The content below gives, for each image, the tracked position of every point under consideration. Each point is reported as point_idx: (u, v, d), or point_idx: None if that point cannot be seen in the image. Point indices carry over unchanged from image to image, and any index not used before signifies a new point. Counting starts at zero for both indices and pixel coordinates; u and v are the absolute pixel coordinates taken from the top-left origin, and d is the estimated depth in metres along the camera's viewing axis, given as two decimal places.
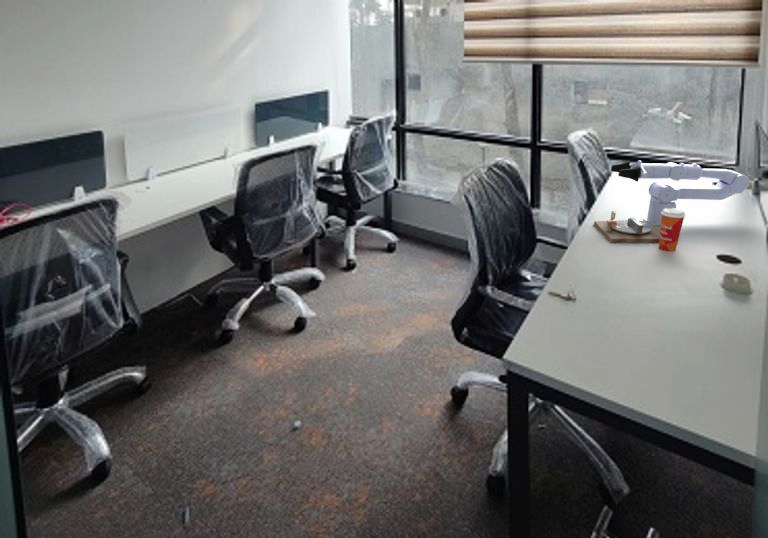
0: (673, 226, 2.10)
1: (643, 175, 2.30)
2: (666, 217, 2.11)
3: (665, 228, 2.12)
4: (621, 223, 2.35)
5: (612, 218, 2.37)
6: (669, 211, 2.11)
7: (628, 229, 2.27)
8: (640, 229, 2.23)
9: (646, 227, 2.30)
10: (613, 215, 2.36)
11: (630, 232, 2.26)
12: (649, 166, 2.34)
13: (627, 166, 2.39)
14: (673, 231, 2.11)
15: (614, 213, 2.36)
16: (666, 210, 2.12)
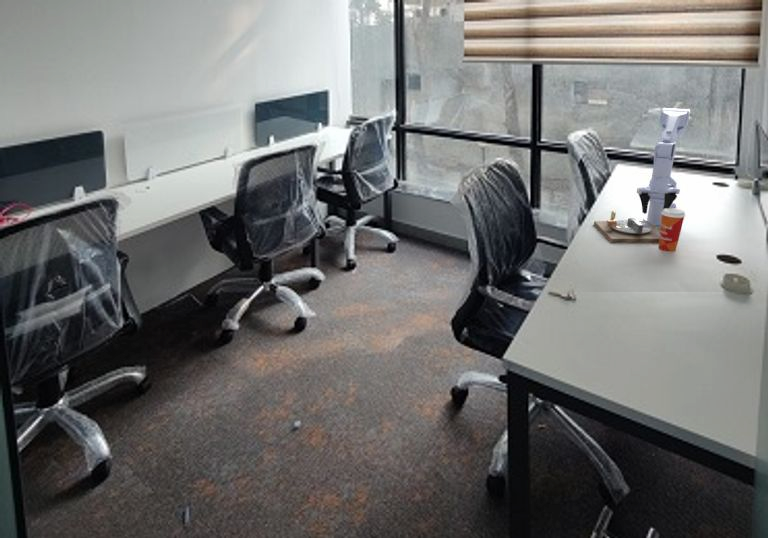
0: (673, 226, 2.10)
1: None
2: (666, 217, 2.11)
3: (665, 228, 2.12)
4: (621, 223, 2.35)
5: (612, 218, 2.37)
6: (669, 211, 2.11)
7: (628, 229, 2.27)
8: (640, 229, 2.23)
9: (646, 227, 2.30)
10: (613, 215, 2.36)
11: (630, 232, 2.26)
12: (667, 181, 2.18)
13: None
14: (673, 231, 2.11)
15: (614, 213, 2.36)
16: (666, 210, 2.12)
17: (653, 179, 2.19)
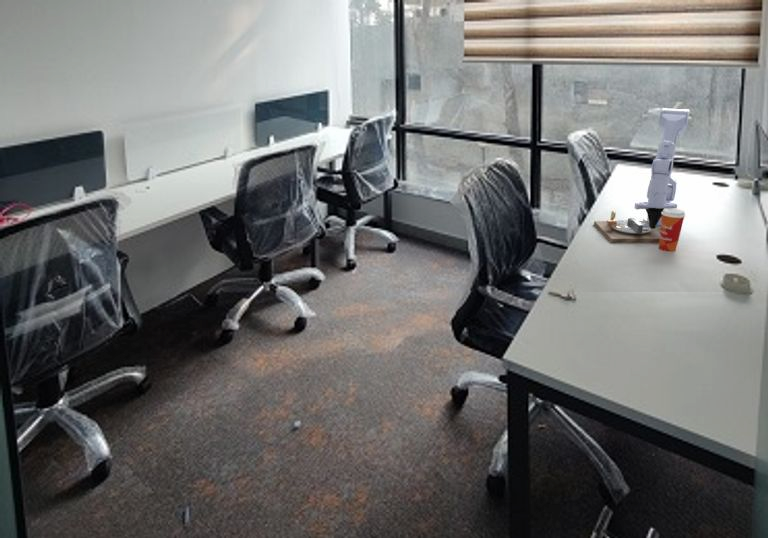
0: (673, 226, 2.10)
1: None
2: (666, 217, 2.11)
3: (665, 228, 2.12)
4: (621, 223, 2.35)
5: (612, 218, 2.37)
6: (669, 211, 2.11)
7: (628, 229, 2.27)
8: (640, 229, 2.23)
9: (646, 227, 2.30)
10: (613, 215, 2.36)
11: (630, 232, 2.26)
12: (664, 197, 2.20)
13: None
14: (673, 231, 2.11)
15: (614, 213, 2.36)
16: (666, 210, 2.12)
17: (651, 195, 2.22)
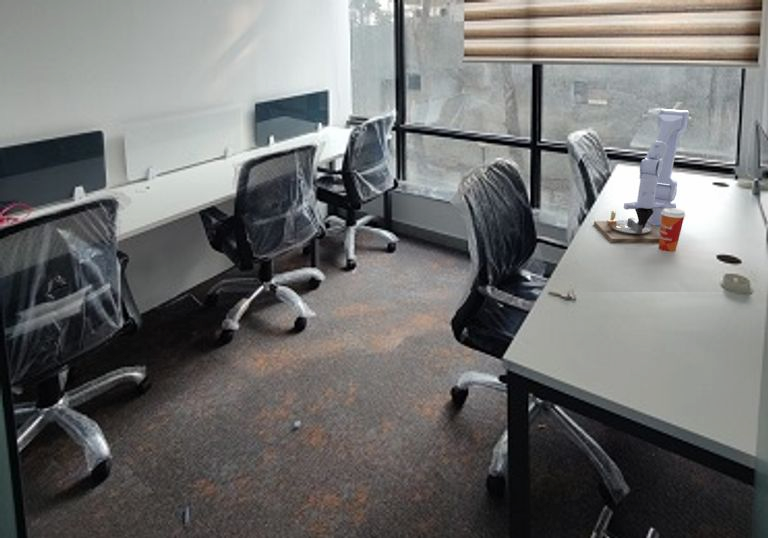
0: (673, 226, 2.10)
1: None
2: (666, 217, 2.11)
3: (665, 228, 2.12)
4: (621, 223, 2.35)
5: (612, 218, 2.37)
6: (669, 211, 2.11)
7: (628, 229, 2.27)
8: (640, 229, 2.23)
9: (646, 227, 2.30)
10: (613, 215, 2.36)
11: (630, 232, 2.26)
12: (653, 197, 2.20)
13: None
14: (673, 231, 2.11)
15: (614, 213, 2.36)
16: (666, 210, 2.12)
17: (640, 195, 2.22)
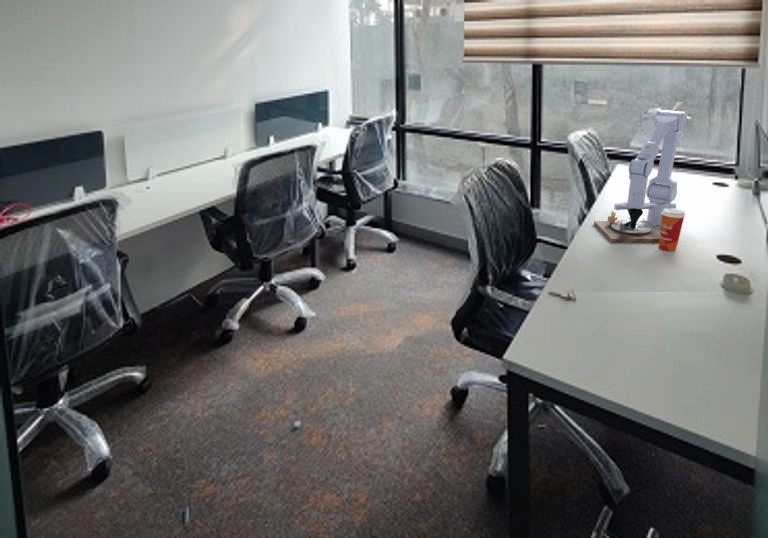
0: (673, 226, 2.10)
1: None
2: (666, 217, 2.11)
3: (665, 228, 2.12)
4: None
5: None
6: (669, 211, 2.11)
7: (618, 227, 2.30)
8: (622, 227, 2.25)
9: (641, 229, 2.27)
10: (613, 215, 2.36)
11: (617, 229, 2.29)
12: (643, 197, 2.21)
13: None
14: (673, 231, 2.11)
15: (614, 213, 2.36)
16: (666, 210, 2.12)
17: (630, 195, 2.22)
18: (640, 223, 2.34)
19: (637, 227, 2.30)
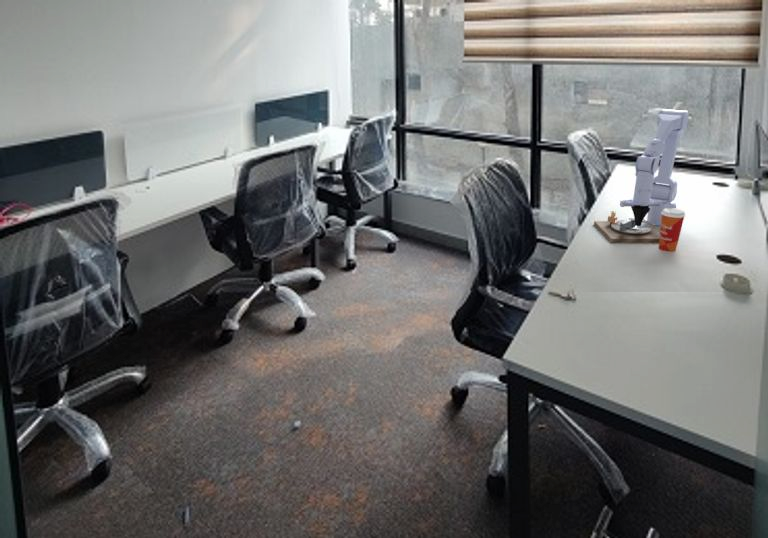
0: (673, 226, 2.10)
1: None
2: (666, 217, 2.11)
3: (665, 228, 2.12)
4: None
5: None
6: (669, 211, 2.11)
7: (618, 227, 2.30)
8: (622, 227, 2.25)
9: (642, 229, 2.27)
10: (613, 215, 2.36)
11: (617, 229, 2.29)
12: (649, 194, 2.20)
13: None
14: (673, 231, 2.11)
15: (614, 213, 2.36)
16: (666, 210, 2.12)
17: (636, 192, 2.21)
18: None
19: (637, 227, 2.30)
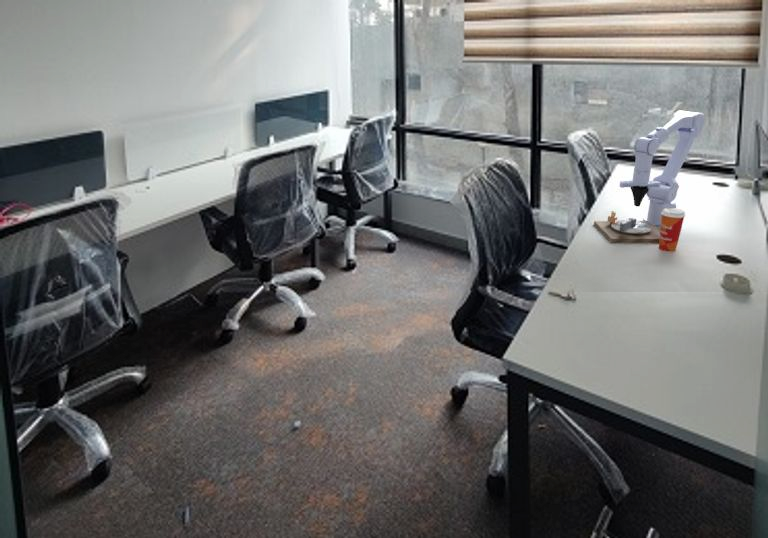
0: (673, 226, 2.10)
1: None
2: (666, 217, 2.11)
3: (665, 228, 2.12)
4: None
5: None
6: (669, 211, 2.11)
7: (618, 227, 2.30)
8: (622, 227, 2.25)
9: (642, 229, 2.27)
10: (613, 215, 2.36)
11: (617, 229, 2.29)
12: (648, 175, 2.27)
13: None
14: (673, 231, 2.11)
15: (614, 213, 2.36)
16: (666, 210, 2.12)
17: (635, 173, 2.28)
18: (640, 223, 2.34)
19: (637, 227, 2.30)
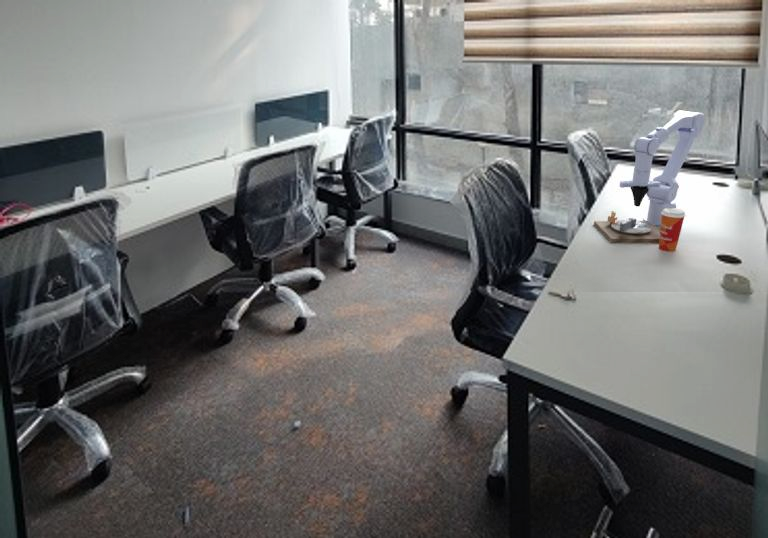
0: (673, 226, 2.10)
1: None
2: (666, 217, 2.11)
3: (665, 228, 2.12)
4: None
5: None
6: (669, 211, 2.11)
7: (618, 227, 2.30)
8: (622, 227, 2.25)
9: (642, 229, 2.27)
10: (613, 215, 2.36)
11: (617, 229, 2.29)
12: (648, 175, 2.27)
13: None
14: (673, 231, 2.11)
15: (614, 213, 2.36)
16: (666, 210, 2.12)
17: (635, 173, 2.28)
18: (640, 223, 2.34)
19: (637, 227, 2.30)
